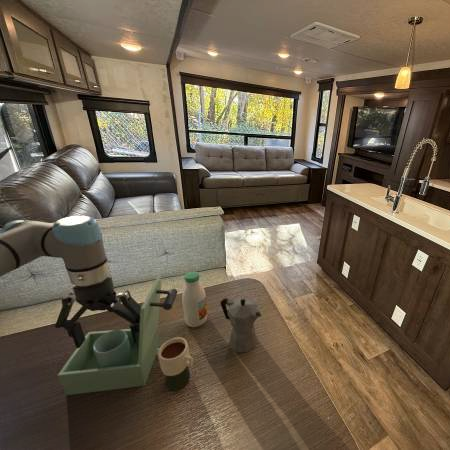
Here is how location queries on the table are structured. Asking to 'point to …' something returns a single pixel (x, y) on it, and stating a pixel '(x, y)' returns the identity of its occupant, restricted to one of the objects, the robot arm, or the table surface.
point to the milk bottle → (194, 301)
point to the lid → (152, 315)
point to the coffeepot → (241, 322)
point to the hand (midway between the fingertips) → (109, 341)
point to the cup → (112, 349)
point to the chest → (105, 377)
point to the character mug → (175, 362)
